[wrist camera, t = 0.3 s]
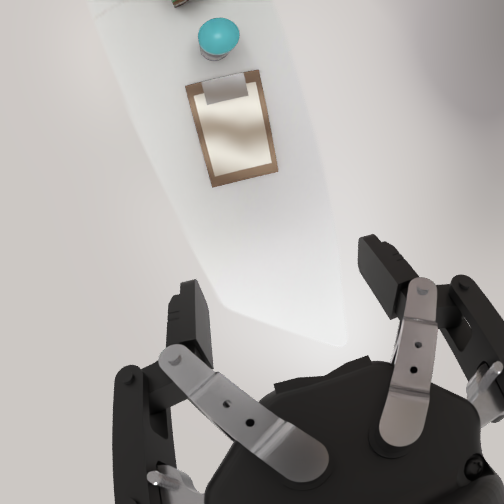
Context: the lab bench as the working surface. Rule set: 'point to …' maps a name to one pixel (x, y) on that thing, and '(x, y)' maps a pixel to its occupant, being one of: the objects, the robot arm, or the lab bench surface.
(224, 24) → the marker
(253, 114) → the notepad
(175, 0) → the food container
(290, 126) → the lab bench surface
